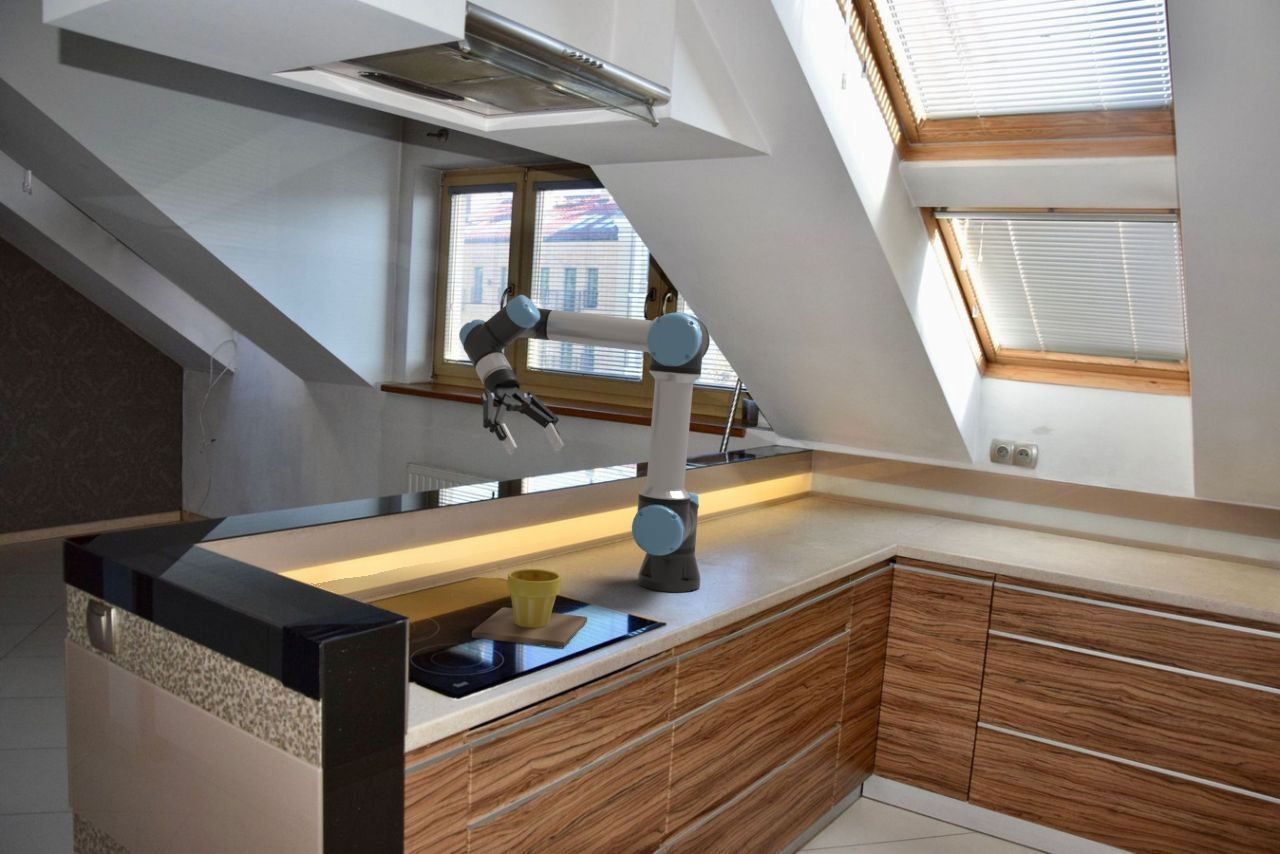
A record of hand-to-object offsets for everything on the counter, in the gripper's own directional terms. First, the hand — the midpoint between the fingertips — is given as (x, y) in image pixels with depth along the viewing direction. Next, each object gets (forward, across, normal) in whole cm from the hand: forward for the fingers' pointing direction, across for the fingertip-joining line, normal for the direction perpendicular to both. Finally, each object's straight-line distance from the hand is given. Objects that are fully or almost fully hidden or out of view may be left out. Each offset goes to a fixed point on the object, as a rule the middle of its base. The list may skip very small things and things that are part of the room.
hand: (537, 450), depth 211 cm
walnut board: (+37, +16, -9) cm, 42 cm away
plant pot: (+37, +16, -8) cm, 41 cm away
